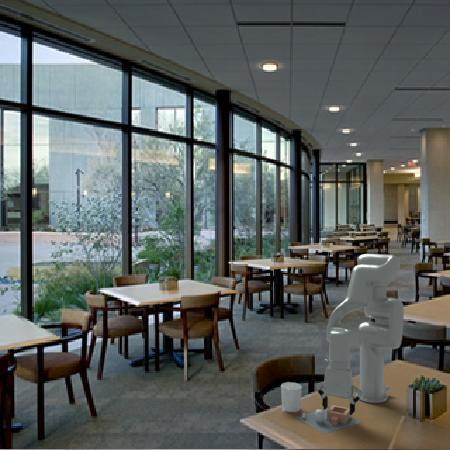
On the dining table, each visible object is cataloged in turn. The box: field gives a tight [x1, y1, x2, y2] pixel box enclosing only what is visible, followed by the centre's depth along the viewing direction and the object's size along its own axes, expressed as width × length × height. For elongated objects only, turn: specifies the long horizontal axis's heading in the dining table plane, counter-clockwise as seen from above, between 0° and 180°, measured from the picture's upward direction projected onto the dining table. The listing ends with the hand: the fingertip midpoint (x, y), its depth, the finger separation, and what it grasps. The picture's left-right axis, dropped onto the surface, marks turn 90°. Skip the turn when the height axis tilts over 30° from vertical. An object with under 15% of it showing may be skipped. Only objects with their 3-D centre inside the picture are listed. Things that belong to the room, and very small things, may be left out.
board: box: [294, 407, 363, 435], centre depth 173 cm, size 18×16×5 cm
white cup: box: [280, 382, 303, 413], centre depth 184 cm, size 8×8×10 cm
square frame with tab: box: [327, 404, 352, 426], centre depth 173 cm, size 10×7×3 cm
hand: (338, 411), depth 175 cm, fingers open, 9 cm apart
